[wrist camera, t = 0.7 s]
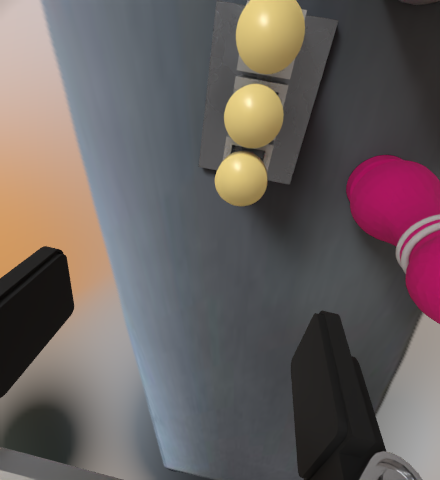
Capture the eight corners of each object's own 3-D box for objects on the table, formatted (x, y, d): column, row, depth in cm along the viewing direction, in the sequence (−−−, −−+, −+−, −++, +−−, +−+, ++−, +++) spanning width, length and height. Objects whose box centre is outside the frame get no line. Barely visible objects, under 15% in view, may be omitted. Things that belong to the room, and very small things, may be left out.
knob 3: (228, 135, 25) (218, 151, 20) (272, 144, 25) (272, 161, 20) (221, 178, 27) (211, 200, 22) (262, 186, 27) (260, 210, 22)
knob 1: (249, 4, 20) (242, -16, 15) (303, 13, 20) (314, -4, 15) (239, 68, 22) (230, 68, 18) (288, 77, 22) (293, 79, 17)
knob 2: (237, 77, 23) (229, 79, 18) (286, 86, 22) (290, 90, 18) (229, 129, 25) (220, 142, 20) (274, 137, 25) (275, 153, 20)
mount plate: (218, 3, 24) (207, -12, 19) (336, 22, 23) (350, 11, 19) (200, 164, 31) (189, 178, 27) (289, 181, 31) (292, 199, 26)
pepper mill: (407, 135, 27) (646, 248, 10) (423, 198, 29) (631, 371, 12) (331, 170, 29) (415, 305, 12) (353, 224, 32) (445, 396, 15)
